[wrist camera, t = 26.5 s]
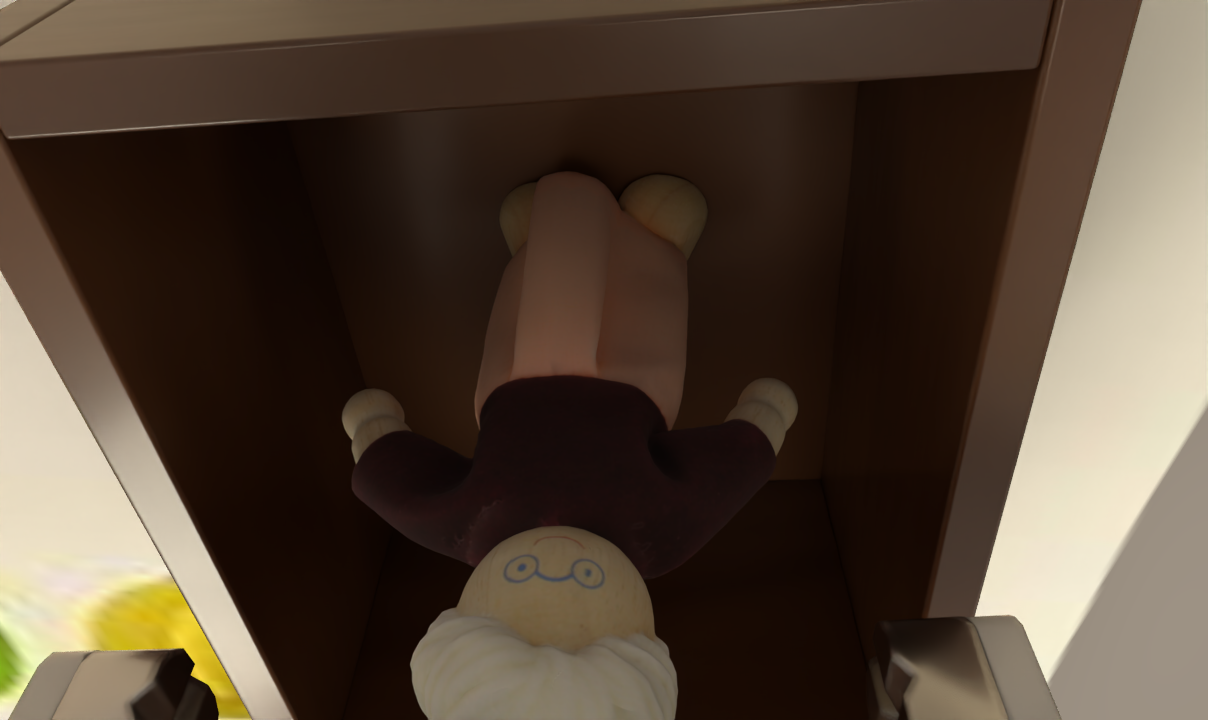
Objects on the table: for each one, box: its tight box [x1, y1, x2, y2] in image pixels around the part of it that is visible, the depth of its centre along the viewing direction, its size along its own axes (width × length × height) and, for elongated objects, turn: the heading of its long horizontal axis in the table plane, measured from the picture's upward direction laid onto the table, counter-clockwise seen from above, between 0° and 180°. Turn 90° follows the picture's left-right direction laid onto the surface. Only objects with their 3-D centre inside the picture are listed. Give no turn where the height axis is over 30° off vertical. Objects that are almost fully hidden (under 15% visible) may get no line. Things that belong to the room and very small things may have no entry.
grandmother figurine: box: [342, 171, 798, 720], centre depth 15 cm, size 8×4×13 cm, turn 103°
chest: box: [0, 0, 1142, 720], centre depth 18 cm, size 16×13×9 cm
